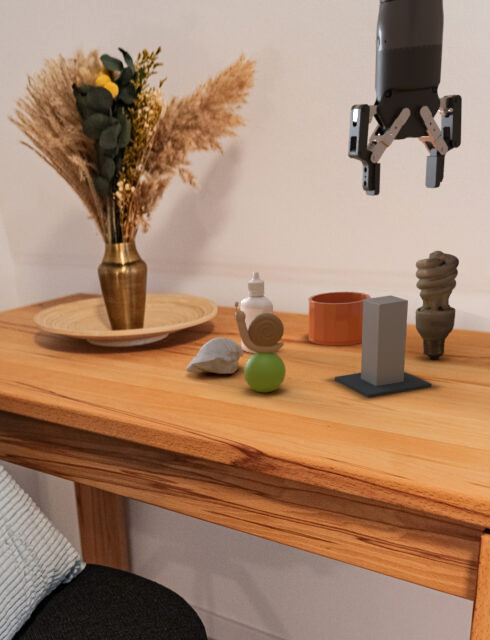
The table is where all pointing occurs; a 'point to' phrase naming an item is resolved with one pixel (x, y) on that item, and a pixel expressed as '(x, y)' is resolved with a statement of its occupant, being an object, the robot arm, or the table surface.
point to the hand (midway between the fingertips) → (402, 191)
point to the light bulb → (436, 301)
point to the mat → (374, 391)
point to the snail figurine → (262, 350)
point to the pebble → (217, 357)
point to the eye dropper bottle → (255, 303)
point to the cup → (336, 318)
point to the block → (384, 340)
